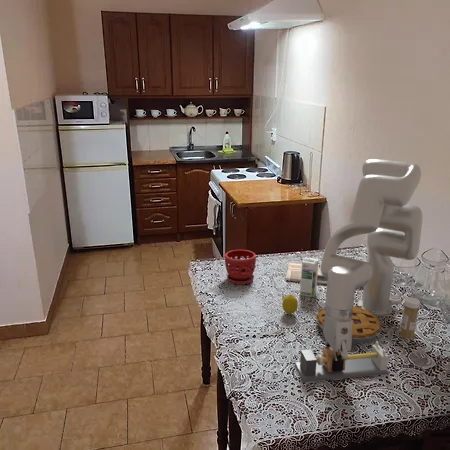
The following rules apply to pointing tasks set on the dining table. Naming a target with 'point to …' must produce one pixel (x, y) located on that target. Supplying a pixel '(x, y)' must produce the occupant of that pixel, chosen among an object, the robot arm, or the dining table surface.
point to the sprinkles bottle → (409, 317)
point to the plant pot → (240, 266)
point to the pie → (358, 324)
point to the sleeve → (330, 358)
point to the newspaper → (295, 274)
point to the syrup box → (309, 277)
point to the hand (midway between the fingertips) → (333, 363)
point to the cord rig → (354, 365)
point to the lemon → (290, 304)
